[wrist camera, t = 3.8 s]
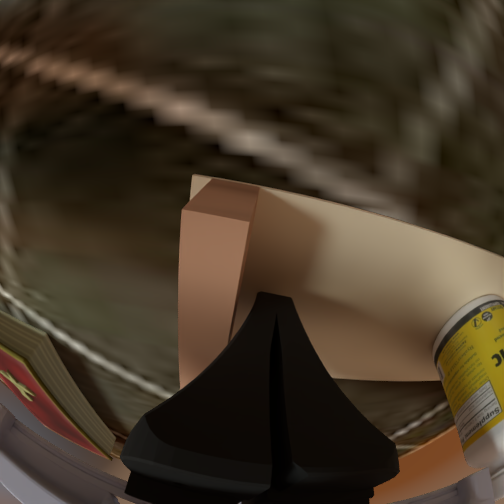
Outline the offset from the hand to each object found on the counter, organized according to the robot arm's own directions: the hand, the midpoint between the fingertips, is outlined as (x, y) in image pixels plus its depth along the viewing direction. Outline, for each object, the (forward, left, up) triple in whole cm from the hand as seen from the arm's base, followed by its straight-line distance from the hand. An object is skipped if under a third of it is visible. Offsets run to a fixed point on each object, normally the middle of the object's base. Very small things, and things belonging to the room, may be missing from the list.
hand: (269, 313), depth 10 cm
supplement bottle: (0, -11, -1) cm, 11 cm away
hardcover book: (-19, +20, -2) cm, 28 cm away
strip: (0, -6, -1) cm, 6 cm away
